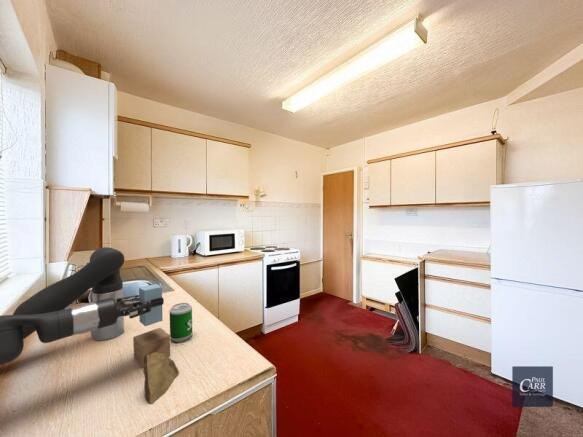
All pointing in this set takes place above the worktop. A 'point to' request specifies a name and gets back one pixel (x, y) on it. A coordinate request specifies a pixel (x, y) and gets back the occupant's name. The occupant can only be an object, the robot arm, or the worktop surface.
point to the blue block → (156, 312)
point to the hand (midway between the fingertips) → (159, 298)
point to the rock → (157, 375)
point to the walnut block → (151, 344)
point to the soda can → (180, 322)
